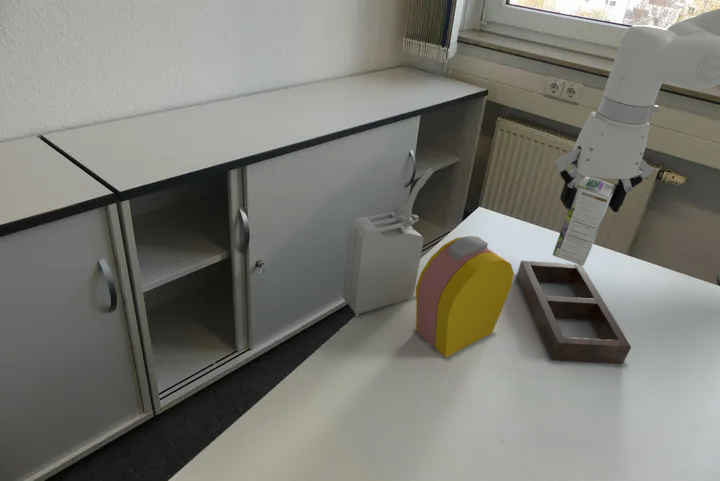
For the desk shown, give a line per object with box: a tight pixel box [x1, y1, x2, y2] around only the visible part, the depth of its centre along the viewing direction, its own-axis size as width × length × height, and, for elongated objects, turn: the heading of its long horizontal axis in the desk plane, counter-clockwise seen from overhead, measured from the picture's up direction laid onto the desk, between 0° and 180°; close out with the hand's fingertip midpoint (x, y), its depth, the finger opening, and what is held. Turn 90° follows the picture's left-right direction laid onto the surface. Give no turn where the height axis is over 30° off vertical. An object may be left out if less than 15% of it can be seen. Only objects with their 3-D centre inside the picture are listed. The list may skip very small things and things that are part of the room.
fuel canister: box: [342, 167, 435, 315], centre depth 95 cm, size 15×5×25 cm, turn 120°
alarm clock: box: [415, 235, 515, 358], centre depth 90 cm, size 15×8×18 cm, turn 126°
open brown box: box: [516, 260, 632, 365], centre depth 100 cm, size 12×24×4 cm, turn 1°
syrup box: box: [552, 177, 616, 267], centre depth 97 cm, size 6×6×14 cm
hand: (589, 206), depth 95 cm, fingers closed on syrup box, 7 cm apart
